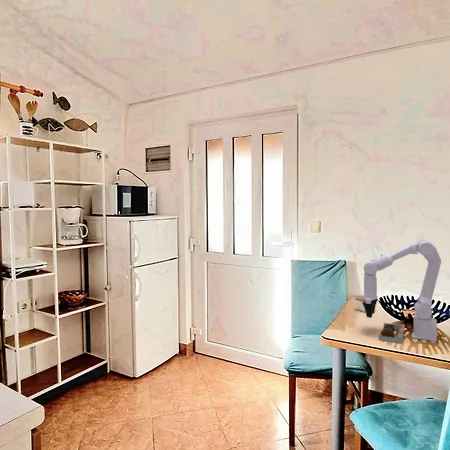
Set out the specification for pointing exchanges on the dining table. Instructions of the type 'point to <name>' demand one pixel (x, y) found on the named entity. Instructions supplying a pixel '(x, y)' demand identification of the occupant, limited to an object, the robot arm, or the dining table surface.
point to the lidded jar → (360, 303)
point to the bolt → (388, 330)
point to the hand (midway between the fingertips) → (370, 315)
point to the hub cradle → (394, 339)
